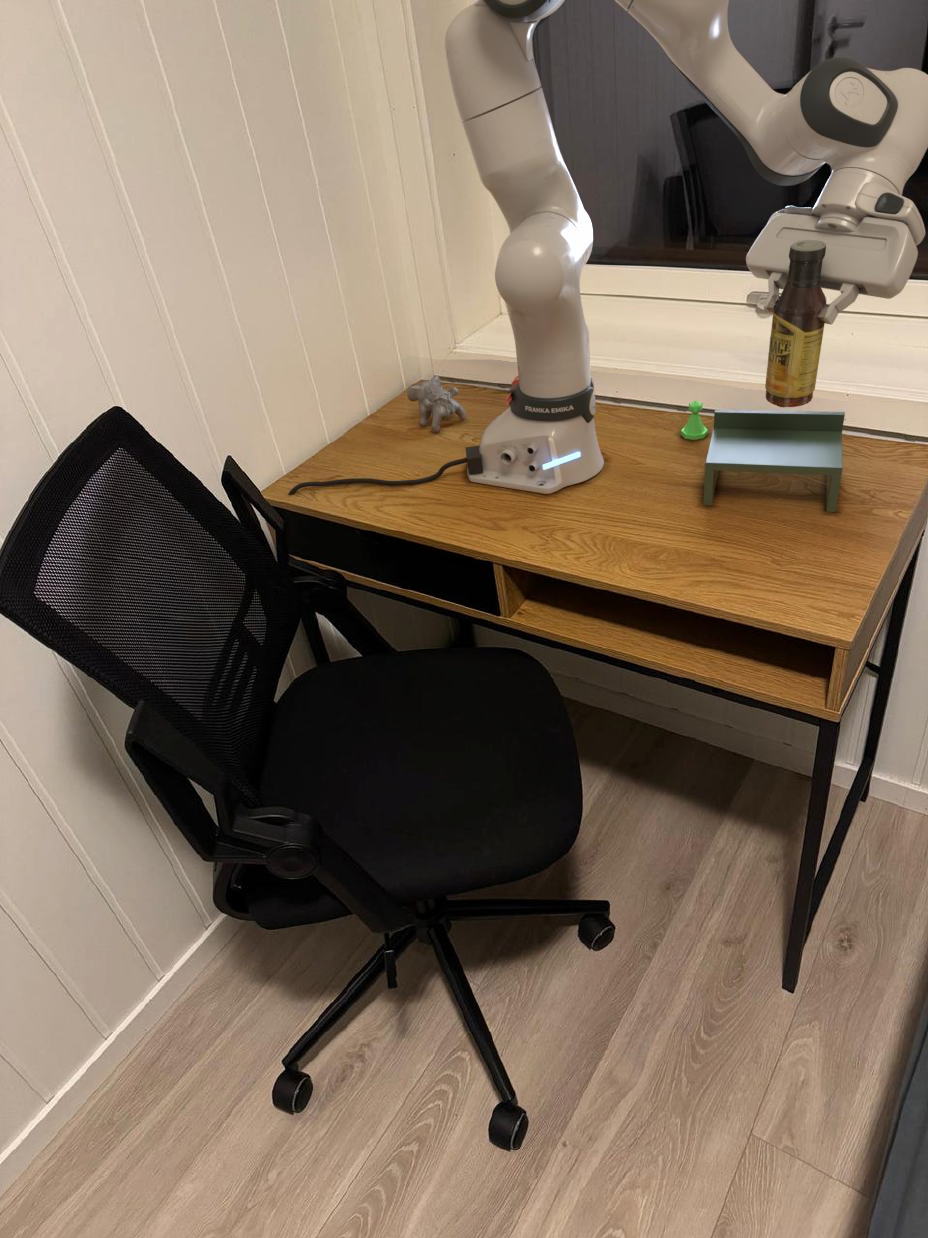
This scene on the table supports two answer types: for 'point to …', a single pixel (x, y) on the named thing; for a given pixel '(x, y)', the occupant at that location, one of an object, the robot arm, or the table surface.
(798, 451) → the shelf
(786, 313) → the sauce bottle
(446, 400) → the gray elephant figurine
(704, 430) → the game piece
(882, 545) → the table surface
